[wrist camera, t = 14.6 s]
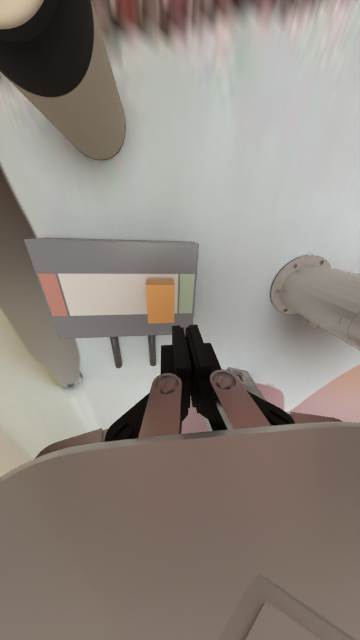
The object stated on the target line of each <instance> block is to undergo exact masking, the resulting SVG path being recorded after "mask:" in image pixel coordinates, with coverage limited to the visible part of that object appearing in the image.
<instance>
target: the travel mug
mask: <svg viewBox="0 0 360 640" xmlns="http://www.w3.org/2000/svg"><path fill="white" fill-rule="evenodd" d="M0 72H1V73H2V74H3V75H4V76H5V77H6V78H7V79H8V80H9V81H10V82H11V83H12V84H13V85H14V86H15V87H16V88H17V89H18V90H19V91H20V92H21V93H22V94H23V95H24V96H25V97H26V98H27V99H28V100H29V101H30V102H31V103H32V104H33V105H34V106H35V107H36V108H37V109H38V110H39V111H40V112H41V113H42V114H43V115H44V116H45V117H46V118H47V119H48V120H49V121H50V122H51V123H52V124H53V125H54V126H55V127H56V128H57V129H58V130H59V131H60V132H61V133H62V134H63V135H64V136H65V137H66V138H67V139H68V140H69V141H70V142H71V143H72V144H73V145H74V146H75V147H76V148H77V149H78V150H79V151H81V152H82V153H83V154H85V155H86V156H88V157H90V158H93V159H97V160H104V159H108V158H110V157H112V156H114V155H115V154H116V153H117V152H118V151H119V149H120V148H121V146H122V143H123V141H124V137H125V116H124V111H123V108H122V104H121V101H120V97H119V94H118V90H117V87H116V83H115V80H114V76H113V73H112V69H111V66H110V62H109V59H108V55H107V52H106V48H105V45H104V41H103V38H102V34H101V31H100V27H99V24H98V20H97V17H96V13H95V10H94V6H93V3H92V0H0Z"/></svg>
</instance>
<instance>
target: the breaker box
mask: <svg viewBox="0 0 360 640" xmlns="http://www.w3.org/2000/svg"><path fill="white" fill-rule="evenodd" d="M24 241H25V244H26V246H27V250H28V252H29V255H30V258H31V261H32V264H33V266H34V269H35V272H36V275H37V278H38V280H39V283H40V286H41V289H42V292H43V294H44V297H45V300H46V303H47V306H48V308H49V311H50V314H51V317H52V320H53V322H54V325H55V328H56V331H57V334H58V337H59V339H65V338H92V337H110V339H111V345H112V350H113V355H114V361H115V366H116V368H120V367H121V366H122V363H121V357H120V351H119V345H118V339H117V337H119V336H145V335H148V337H149V352H150V365H151V366H155V365H156V349H155V335H172V326H177V325H180V327H183V328H184V333H185V331H186V327H188V326H189V325H193V314H194V301H195V288H196V275H197V261H198V248H199V244H197V243H195V242H182V241H145V240H108V239H71V238H36V239H25V240H24ZM147 278H173V281H174V284H175V306H174V323H149V324H148V314H147V299H146V281H147Z"/></svg>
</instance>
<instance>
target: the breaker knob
mask: <svg viewBox="0 0 360 640" xmlns="http://www.w3.org/2000/svg"><path fill="white" fill-rule="evenodd" d="M146 299H147V314H148V324H149V323H174V306H175V284H174V281H173V278H147V281H146Z"/></svg>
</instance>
